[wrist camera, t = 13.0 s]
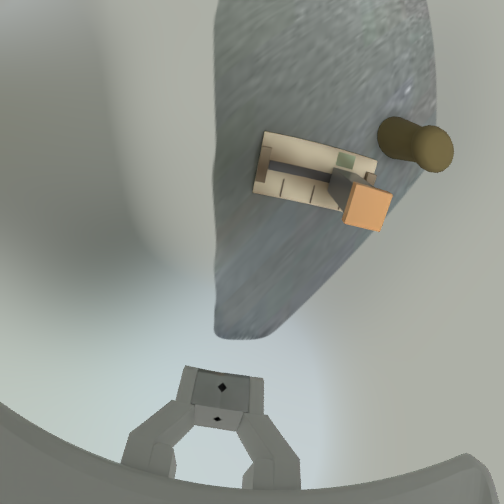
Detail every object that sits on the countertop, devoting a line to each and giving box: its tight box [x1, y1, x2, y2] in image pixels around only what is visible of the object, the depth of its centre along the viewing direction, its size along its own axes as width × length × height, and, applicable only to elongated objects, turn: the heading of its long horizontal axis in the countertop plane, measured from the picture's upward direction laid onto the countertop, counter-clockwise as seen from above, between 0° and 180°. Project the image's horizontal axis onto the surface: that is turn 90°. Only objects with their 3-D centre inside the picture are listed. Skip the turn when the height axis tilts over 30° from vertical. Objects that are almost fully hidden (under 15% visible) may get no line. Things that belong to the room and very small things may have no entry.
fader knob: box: [327, 167, 393, 232], centre depth 29 cm, size 4×4×10 cm
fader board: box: [253, 131, 377, 212], centre depth 33 cm, size 8×15×2 cm, turn 80°
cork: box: [377, 117, 454, 173], centre depth 26 cm, size 6×6×11 cm
